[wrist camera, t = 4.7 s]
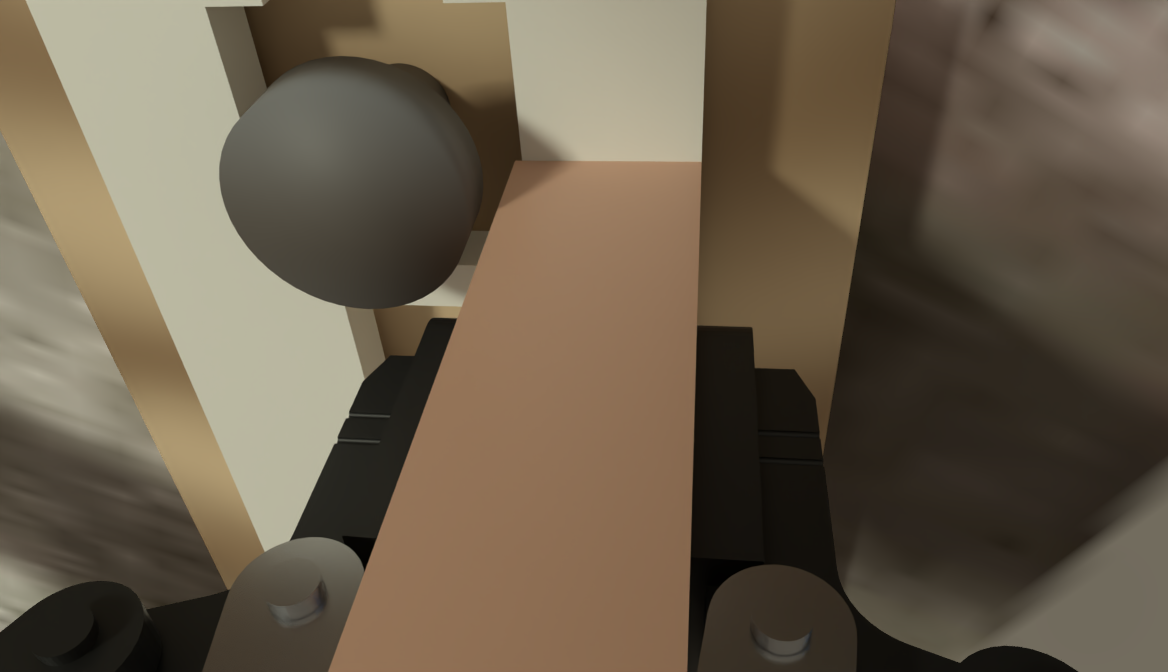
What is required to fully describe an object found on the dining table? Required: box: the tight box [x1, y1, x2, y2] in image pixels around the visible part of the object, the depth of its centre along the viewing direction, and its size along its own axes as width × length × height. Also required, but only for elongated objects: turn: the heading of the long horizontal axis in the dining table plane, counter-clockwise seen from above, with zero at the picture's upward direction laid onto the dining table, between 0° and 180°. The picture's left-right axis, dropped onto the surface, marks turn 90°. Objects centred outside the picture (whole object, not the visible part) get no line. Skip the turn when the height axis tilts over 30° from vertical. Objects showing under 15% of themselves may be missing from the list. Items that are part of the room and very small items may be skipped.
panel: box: [26, 0, 707, 672], centre depth 12 cm, size 21×9×9 cm, turn 3°
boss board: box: [0, 0, 896, 590], centre depth 17 cm, size 28×14×4 cm, turn 3°
